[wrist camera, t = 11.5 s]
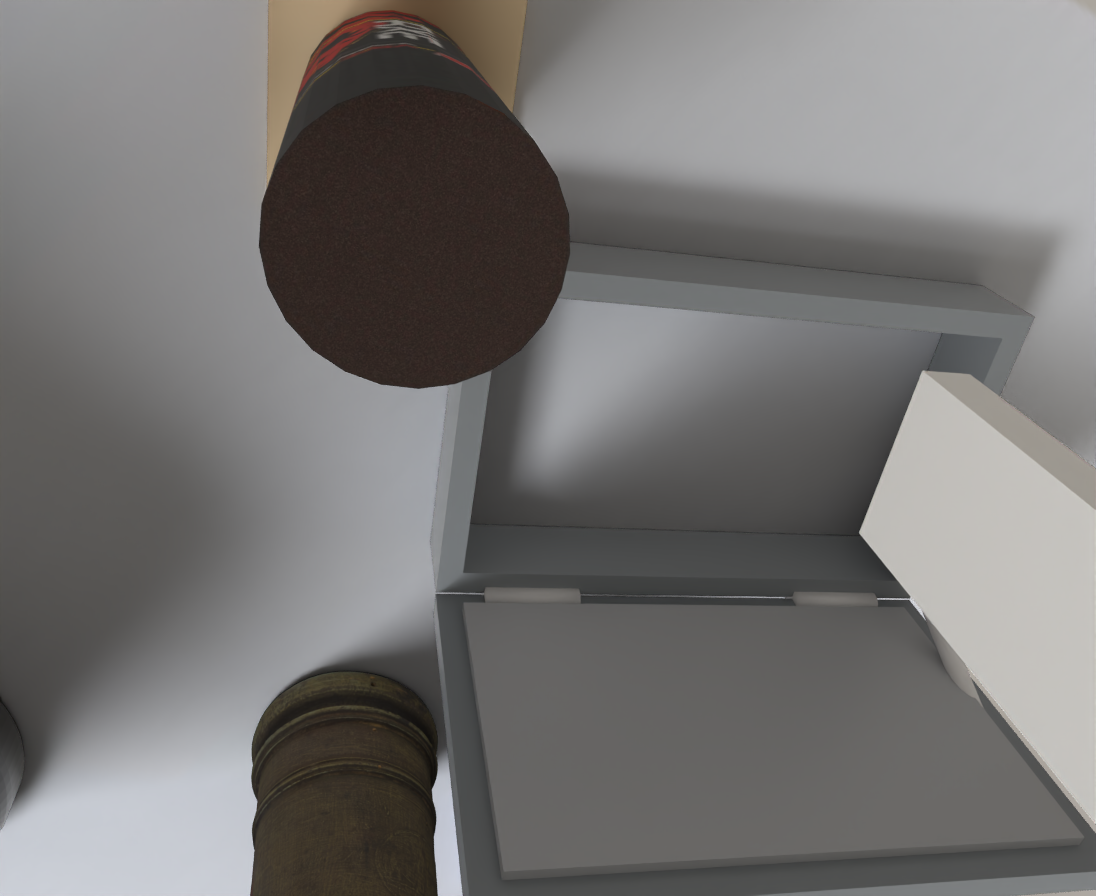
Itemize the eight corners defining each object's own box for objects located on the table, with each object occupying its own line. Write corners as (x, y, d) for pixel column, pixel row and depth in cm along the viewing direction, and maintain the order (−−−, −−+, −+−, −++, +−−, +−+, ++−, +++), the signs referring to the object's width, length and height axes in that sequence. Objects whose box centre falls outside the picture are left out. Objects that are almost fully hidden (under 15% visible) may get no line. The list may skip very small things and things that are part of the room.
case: (427, 561, 40) (467, 937, 26) (466, 230, 33) (552, 486, 18) (866, 570, 46) (1110, 888, 31) (982, 285, 38) (1375, 520, 24)
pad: (267, 210, 32) (266, 214, 31) (270, -48, 28) (269, -48, 27) (493, 234, 34) (495, 238, 33) (525, -5, 30) (528, -4, 29)
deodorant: (459, -8, 29) (541, 52, 16) (497, 177, 32) (591, 350, 19) (274, 31, 28) (209, 126, 16) (331, 215, 32) (315, 418, 19)
